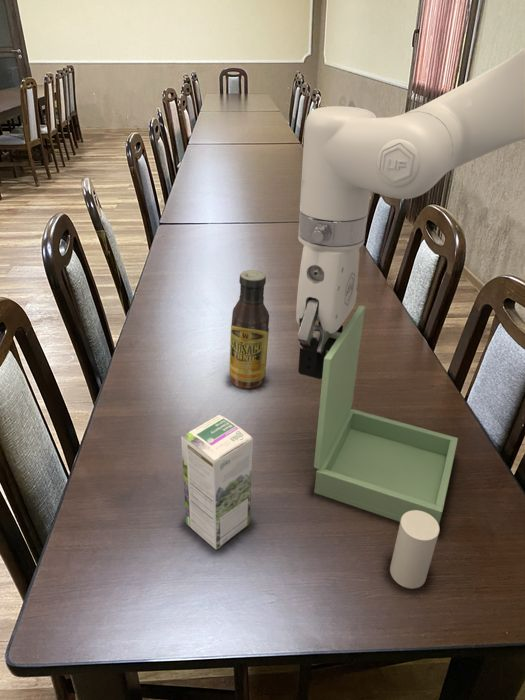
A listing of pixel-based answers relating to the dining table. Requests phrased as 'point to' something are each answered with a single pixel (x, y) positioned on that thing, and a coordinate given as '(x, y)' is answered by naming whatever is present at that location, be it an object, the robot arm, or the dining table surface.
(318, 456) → the green box lid
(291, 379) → the dining table surface
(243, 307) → the sauce bottle
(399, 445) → the green open lid box
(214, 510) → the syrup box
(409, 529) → the cylinder
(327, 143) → the robot arm
